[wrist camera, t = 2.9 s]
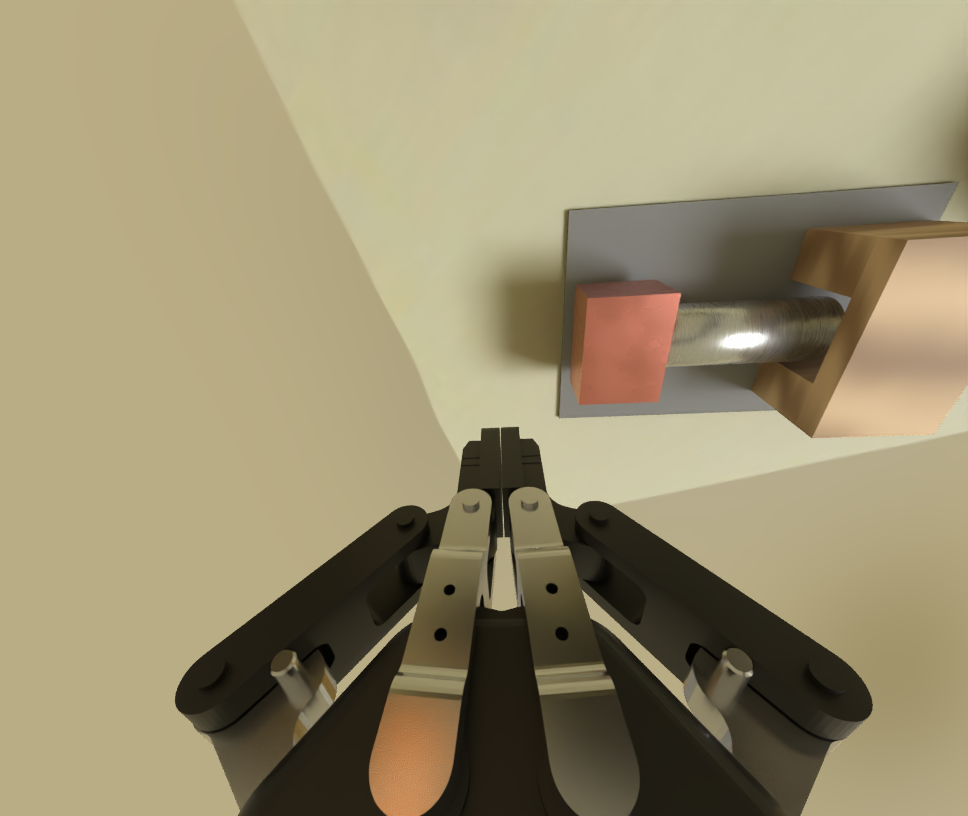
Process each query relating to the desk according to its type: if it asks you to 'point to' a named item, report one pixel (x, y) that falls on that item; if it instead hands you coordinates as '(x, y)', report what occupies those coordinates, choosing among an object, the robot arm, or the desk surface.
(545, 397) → the desk surface
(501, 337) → the desk surface
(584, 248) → the mat
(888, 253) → the wooden block
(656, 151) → the desk surface
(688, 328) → the pin
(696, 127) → the desk surface
